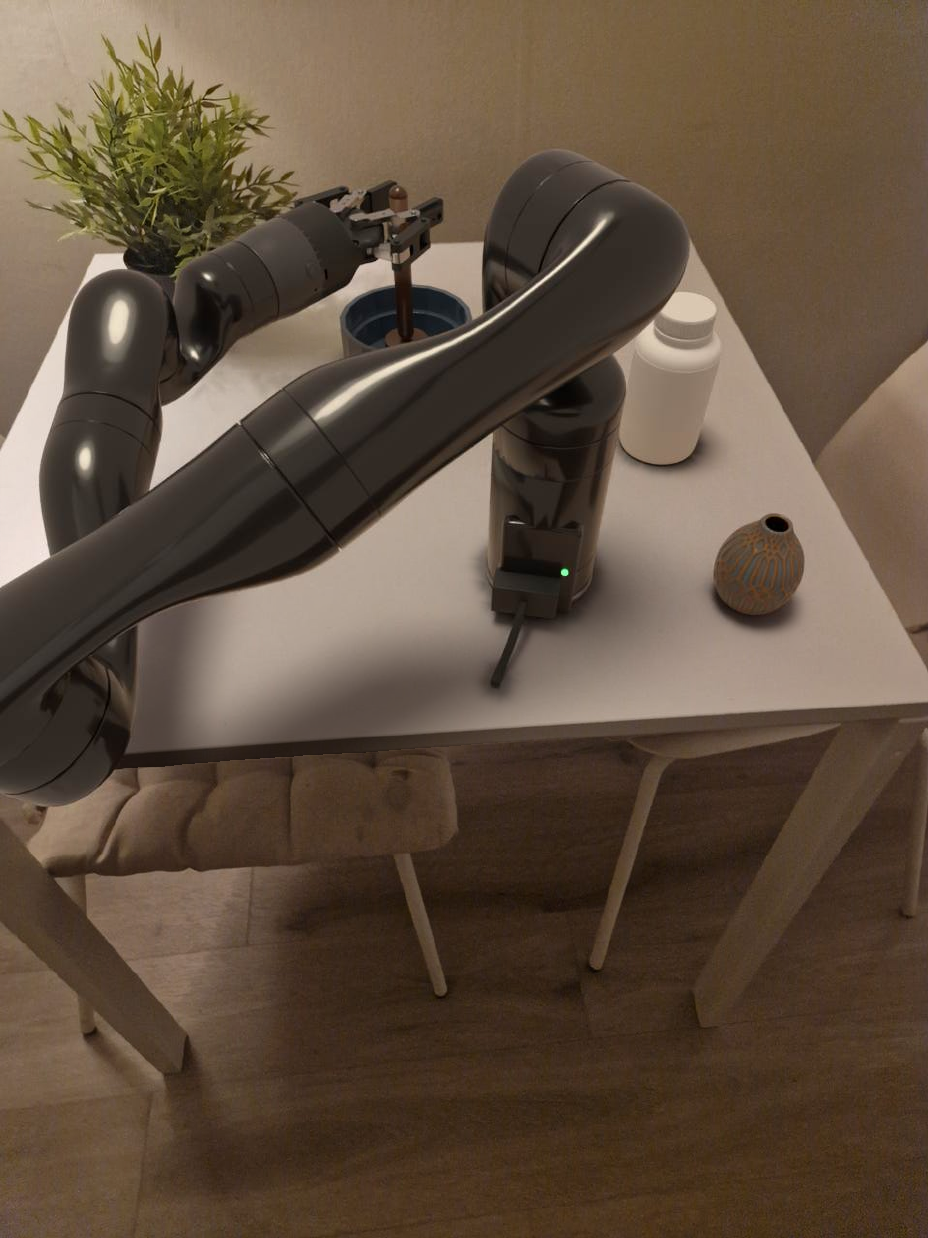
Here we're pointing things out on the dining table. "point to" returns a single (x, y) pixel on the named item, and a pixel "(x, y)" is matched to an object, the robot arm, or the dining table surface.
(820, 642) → the dining table surface
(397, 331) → the wooden peg stand
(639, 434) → the pill bottle
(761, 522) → the vase
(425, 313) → the bowl
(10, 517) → the dining table surface
